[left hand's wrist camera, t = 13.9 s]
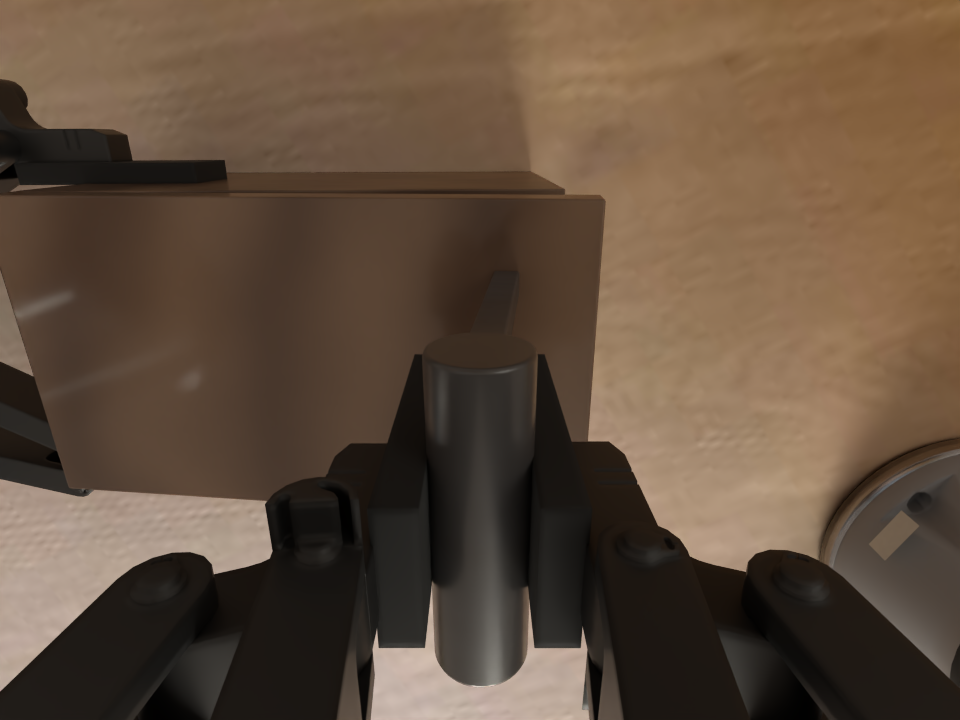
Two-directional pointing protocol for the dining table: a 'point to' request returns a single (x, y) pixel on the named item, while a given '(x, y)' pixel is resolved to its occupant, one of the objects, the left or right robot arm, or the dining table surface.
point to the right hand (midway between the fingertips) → (233, 304)
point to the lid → (317, 356)
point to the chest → (346, 184)
